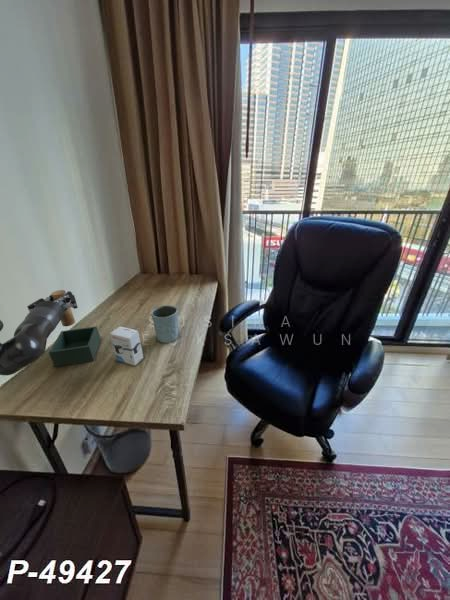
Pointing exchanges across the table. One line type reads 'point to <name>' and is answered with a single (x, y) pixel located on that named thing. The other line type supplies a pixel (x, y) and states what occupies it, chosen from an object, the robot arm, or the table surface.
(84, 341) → the bin
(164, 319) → the blue grey cup
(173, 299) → the table surface
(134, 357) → the ink box
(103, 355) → the table surface
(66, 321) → the wooden cylinder
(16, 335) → the robot arm
